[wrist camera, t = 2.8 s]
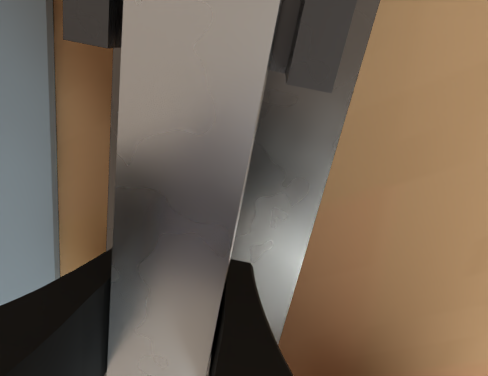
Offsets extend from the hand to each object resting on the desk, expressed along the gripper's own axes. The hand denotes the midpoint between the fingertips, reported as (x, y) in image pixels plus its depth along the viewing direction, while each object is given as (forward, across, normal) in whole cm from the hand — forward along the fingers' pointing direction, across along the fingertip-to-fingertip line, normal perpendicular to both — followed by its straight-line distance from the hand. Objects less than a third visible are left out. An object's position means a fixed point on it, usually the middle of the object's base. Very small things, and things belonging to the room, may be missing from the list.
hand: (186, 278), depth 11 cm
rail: (-1, 0, 0) cm, 1 cm away
